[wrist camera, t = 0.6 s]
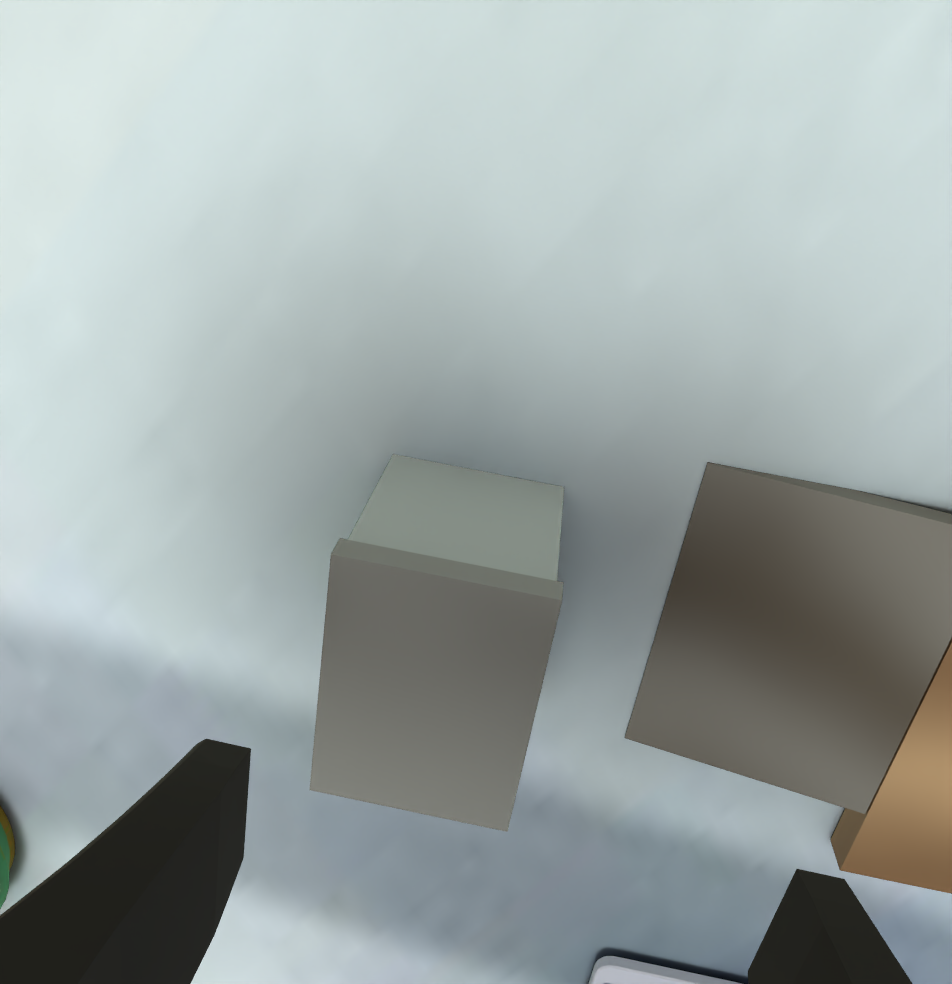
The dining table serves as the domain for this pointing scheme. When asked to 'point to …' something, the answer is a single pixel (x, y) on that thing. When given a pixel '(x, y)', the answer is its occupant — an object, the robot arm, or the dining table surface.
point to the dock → (816, 660)
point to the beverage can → (5, 854)
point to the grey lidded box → (438, 641)
